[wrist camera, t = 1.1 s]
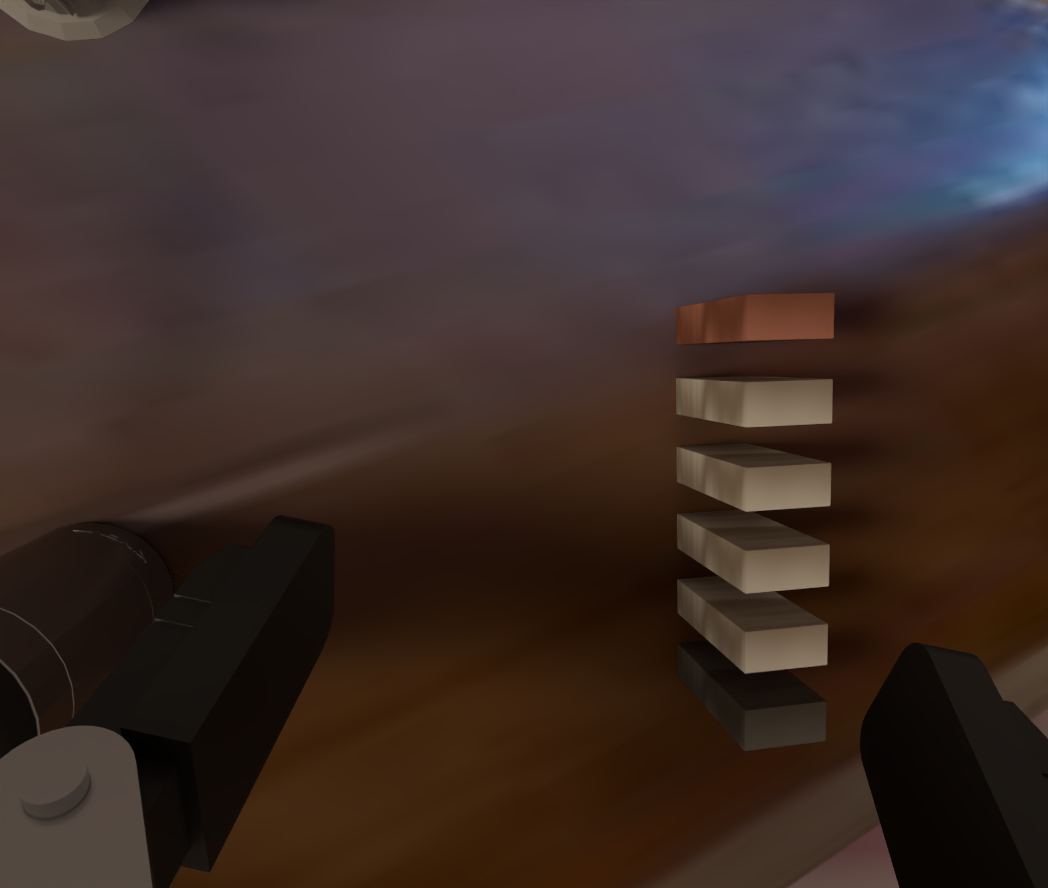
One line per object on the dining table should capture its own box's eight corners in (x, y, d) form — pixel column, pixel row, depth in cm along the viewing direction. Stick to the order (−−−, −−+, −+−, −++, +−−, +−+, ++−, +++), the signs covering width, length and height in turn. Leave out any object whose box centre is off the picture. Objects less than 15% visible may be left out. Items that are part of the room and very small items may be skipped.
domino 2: (746, 410, 50) (831, 423, 40) (676, 414, 49) (746, 427, 39) (746, 375, 49) (832, 379, 40) (676, 378, 49) (746, 382, 39)
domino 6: (744, 669, 52) (825, 740, 42) (678, 676, 51) (744, 751, 41) (744, 636, 52) (826, 701, 42) (677, 643, 51) (744, 710, 41)
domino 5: (745, 606, 51) (827, 664, 42) (677, 613, 51) (745, 673, 41) (745, 573, 51) (827, 624, 41) (677, 579, 50) (745, 632, 40)
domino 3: (745, 477, 50) (830, 505, 41) (676, 481, 49) (746, 511, 40) (746, 442, 50) (831, 463, 40) (676, 446, 49) (746, 467, 39)
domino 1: (746, 342, 49) (833, 338, 39) (676, 344, 48) (746, 340, 39) (746, 306, 49) (834, 292, 39) (676, 308, 48) (747, 294, 38)
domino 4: (745, 542, 51) (828, 586, 41) (677, 548, 50) (745, 593, 40) (745, 509, 51) (829, 544, 41) (676, 513, 50) (745, 551, 40)
